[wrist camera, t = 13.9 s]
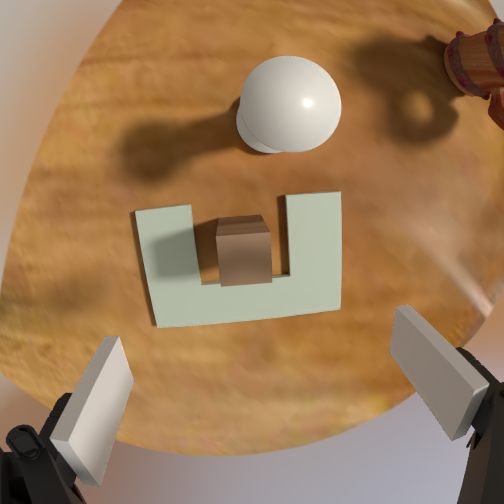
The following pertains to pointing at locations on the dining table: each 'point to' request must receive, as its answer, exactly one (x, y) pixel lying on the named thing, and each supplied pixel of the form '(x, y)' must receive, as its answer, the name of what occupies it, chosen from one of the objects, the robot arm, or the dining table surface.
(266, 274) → the block
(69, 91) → the dining table surface
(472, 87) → the mug
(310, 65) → the knob
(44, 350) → the dining table surface
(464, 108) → the dining table surface
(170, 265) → the notched board
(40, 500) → the robot arm
